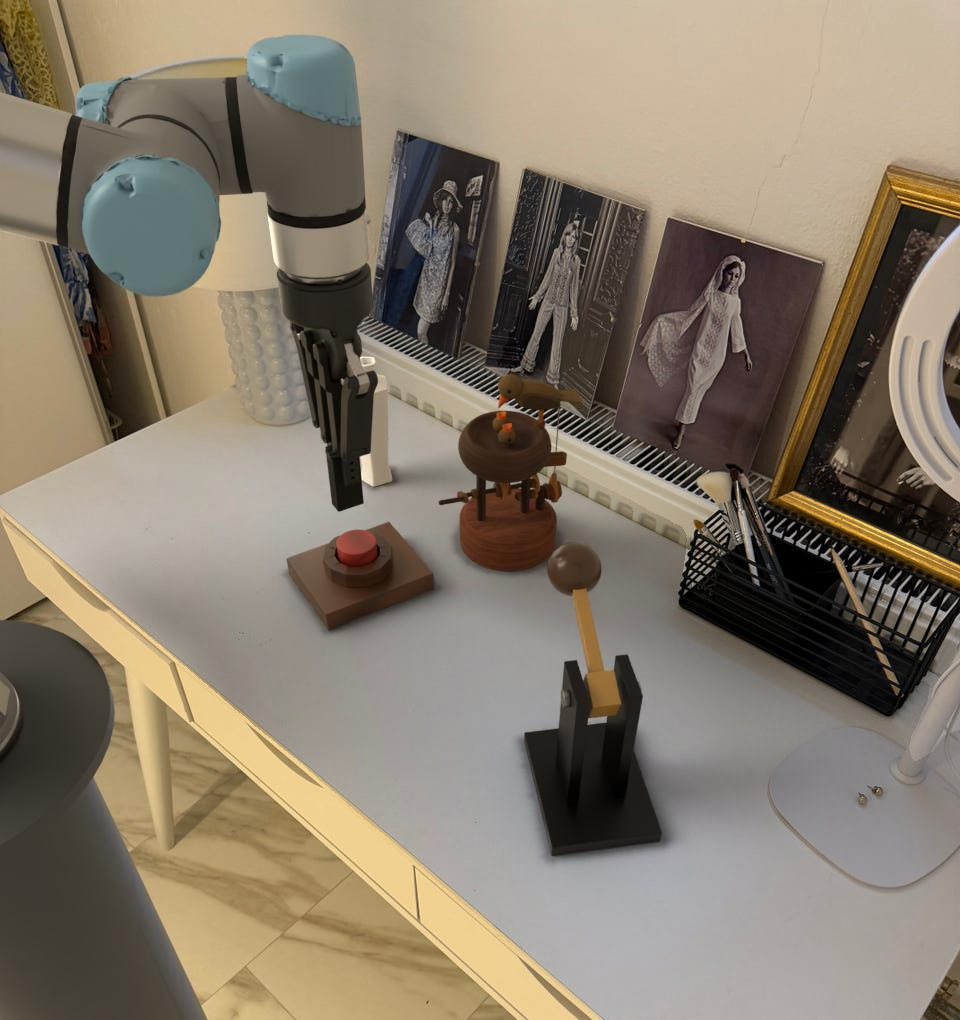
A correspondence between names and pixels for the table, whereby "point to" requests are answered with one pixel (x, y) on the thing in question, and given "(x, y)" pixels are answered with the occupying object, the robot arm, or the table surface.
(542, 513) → the music box
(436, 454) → the table surface
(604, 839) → the lever bracket
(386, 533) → the button housing
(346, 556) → the button
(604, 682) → the lever
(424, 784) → the table surface
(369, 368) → the perfume bottle
